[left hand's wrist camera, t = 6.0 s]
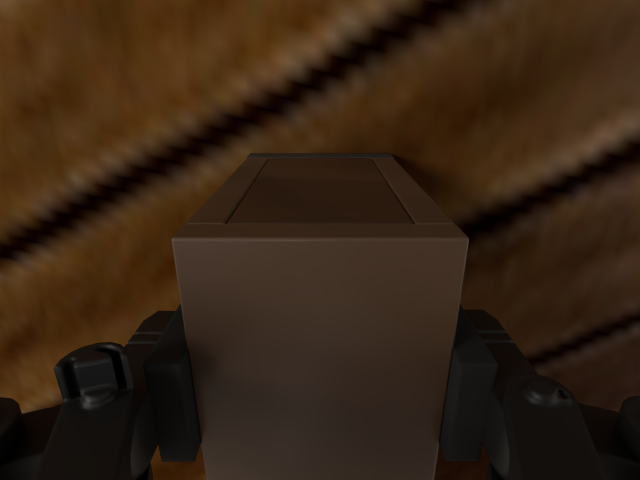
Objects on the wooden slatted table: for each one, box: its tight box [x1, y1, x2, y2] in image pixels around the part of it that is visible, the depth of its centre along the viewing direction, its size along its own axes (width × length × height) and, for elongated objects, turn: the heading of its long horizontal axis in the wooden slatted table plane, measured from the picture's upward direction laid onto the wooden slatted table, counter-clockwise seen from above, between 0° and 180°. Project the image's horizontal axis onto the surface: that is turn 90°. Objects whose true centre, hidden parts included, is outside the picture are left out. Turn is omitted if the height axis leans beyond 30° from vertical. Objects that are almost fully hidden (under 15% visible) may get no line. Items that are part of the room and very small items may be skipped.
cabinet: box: [172, 154, 469, 480], centre depth 16 cm, size 22×6×10 cm, turn 0°
